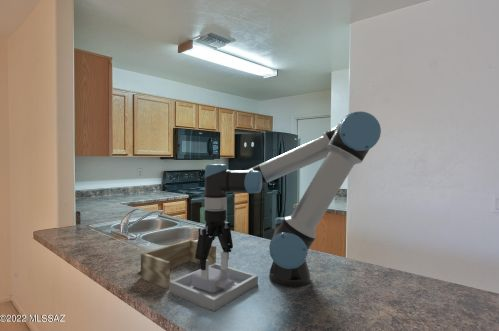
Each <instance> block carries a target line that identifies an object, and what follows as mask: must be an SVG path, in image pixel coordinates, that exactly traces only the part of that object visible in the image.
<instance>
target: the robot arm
mask: <svg viewBox="0 0 499 331" xmlns="http://www.w3.org/2000/svg"><path fill="white" fill-rule="evenodd" d="M381 133H382V128H381V124H380V122H379V121H378V119H377V118H376V117H375V116H374V115H373V114H372V113H369V112H366V111H362V110H361V111H354V112H351V113H348V114H347V115H345V116H344V117H343V118H342V120H341V121H340V122H339V123H338V124H336V125H335V126H334V127H332V128H330V129H329V130H326V131H325V132H323V133H322V136H320V137H317V138H315V139H313V140H311V141H309V142H307V143H304V144H302V145H300V146H297V147H296V148H292V149H291V150H288V151H287V152H284V153H282V154H280V155H278V156H276V157H273V158H271V159H269V160H267V161H264V162H261V163H260V164H258V165H255V166H253V167H250V168H248V169H244V170H241V169H239V170H236V169H235V170H234V169H233V170H231V169H228V166H227V164H226V163H225V164H224V163H209V164H206V165H205V168H204V170H205V171H204V209H205V210H204V217H203V218H204V221H205V226H204V227H202V228H201V227H199V228H198V237H197V238H198V239H197V241H198V243H197V249H196V255H195V258H196V259H199V260H200V264H199V268H200V269H201V278H202V279H205V280H209V260H207V257H208V254H209V251H210V248H211V245H213V241H215V239H216V238H218V241H219V243H220V247H221V249H222V250H221V251H220V264H221V270H224V271H228V267H229V258H230V257H229V256H230V254H229V253H231V252H232V249H233V248H234V246H233V245H234V244H233V237H232V232H231V231H232V230H231V228H232V223H231V222H228V221H227V213H228V212H227V210H226V209H227V208H228V203H227V201H228V197H227V196H228V195H227V194H228V193H242V194H243V193H244V194H246V193H247V194H259V193H261V191H262V189H263V186H264V185H266V184H267V183H270V182H272V181H275V180H277V179H280V178H282V177H284V176H286V175H289V174H290V173H293V172H296V171H297V170H300V169H303V168H305V167H307V166H309V165H312V164H314V163H317V162H318V161H321V160H323V161H322V163H321V165H320V167H319V168H318V170H317V171H316V173H315V175H314V177H313V178H312V180H311V182H310V183H309V185H308V187H307V188H306V190H305V191H304V193H303V195H302V197H301V198H300V200H299V202H298V204H297V205H296V207H295V209H294V210H293V212H292V214H290V215H287V216H283V217H281V216H280V217H276V218H275V220H274V224H273V225H274V231H273V232H274V233H273V236H272V238H271V240H270V241H269V245H268V246H269V254H270V258H271V259H272V264H271V266H270V270H269V278H268V279H269V280H270V281H271V283H273V284H274V285H276V286H280V287H284V288H300V287H301V288H302V287H305V286H307V285H308V284H310V282H311V273H310V268H309V267H308V263H307V257H308V251H309V249H310V248H311V247H312V245H313V243H314V242H315V240H316V238H317V234H316V228H317V227H318V225H319V224H320V222H321V220H322V219H323V217H324V215H325V214H326V212H327V211H328V209H329V207H330V205H331V203H332V202H333V201H334V200H335V197H336V195H337V194H338V192H339V191H340V189H341V187H342V186H343V184H344V183H345V181H346V179H347V177H348V176H349V174H350V172H351V171H352V169H353V168H354V166H355V165H358V164H361V163H362V162H363V161H364V159H365V157H366V156H367V154H368V152H369V151H370V149H372V148H373V147H374V146H376V145H377V143H378V142H379V140H380V137H381ZM203 255H204V256H203Z"/></svg>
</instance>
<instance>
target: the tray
mask: <svg viewBox="0 0 499 331" xmlns="http://www.w3.org/2000/svg"><path fill="white" fill-rule="evenodd" d="M209 267H211V268H215V269H218V270H221V263H218V262H216V263H214V264H211V265H209ZM199 270H201V269H197V270H195V271H192V272H190V273H188V274H185V275H183V276H180V277H178V278H175V279H173V280H170V282H169V288H168V289H169V292H168V293H170V294H173V295H175V296H176V297H179V298H182V299H184V300H187V301H188V302H191V303H193V304H195V305H197V306H200V307H202V308H205V309H206V310H209V311H211V312H213V313H214V312H216V311H218V310H219V309H221V308H222V307H225V306H226V305H228V304H230V303H231V302H232V301H234V300H236V299H238V298H239V297H241V296H243V295H244V294H246V293H248V292H249V291H251V290H252V289H254V288H256V287H258V286H259V285H258V284H259V275H257V274H254V273H251V272H248V271H245V270H240V269H237V268H234V267H231V266H228V271H225V272H228V273H229V280H232V281H234V282H235V283H234V284H235V285H236V286H232V288H230V289H228V290H225V289H220V290H219V291H217V292H214V293H210V292H208V291H205V290H202V289H199V288H196V287H193V286H192V275H193V273H195V272H197V271H199ZM222 271H224V270H222Z"/></svg>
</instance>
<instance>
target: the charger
mask: <svg viewBox="0 0 499 331" xmlns="http://www.w3.org/2000/svg"><path fill="white" fill-rule="evenodd" d="M198 270H199V269H198ZM196 271H197V270H196ZM234 283H235V282H234V281H232V280H229V273H228V272H225V271H222V270H218V269H215V268H211V267H209V280H205V279H202V278H201V270H199V271H197V272H195V273H193V275H192V286H193V287H196V288H199V289H202V290H205V291H208V292H210V293H214V292H217V291H219V290H220V289H225V290H228V289H230V288H232V286H236V285H235V284H234Z"/></svg>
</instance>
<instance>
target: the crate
mask: <svg viewBox="0 0 499 331" xmlns="http://www.w3.org/2000/svg"><path fill="white" fill-rule="evenodd" d="M197 243H198V240H195V239H187V240H183V241H179V242H177V243H173V244H169V245H166V246H161V247H159V248H157V249H156V248H155V249H152V250H149V251H148V250H147V251H145V252H141V253H140V278H141V279H143V280H145V281H148V282H151V283H153V284H154V285H158V286H160V287H161V288H164V289H166V290H167V289H169V282H170V281H171V269H172V268H175V267H177V266H180V265H183V264H185V263H188V262H193V263H195V264H198V265H200V260H199V259H196V258H195V255H196V249H197ZM203 256H204V255H203ZM207 260H209V265H211V264H214V263H217V245H214V244H212V245H211V248H210V251H209V254H208V257H207Z"/></svg>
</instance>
